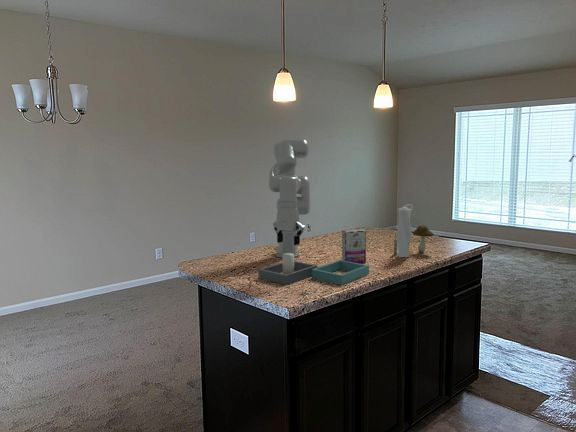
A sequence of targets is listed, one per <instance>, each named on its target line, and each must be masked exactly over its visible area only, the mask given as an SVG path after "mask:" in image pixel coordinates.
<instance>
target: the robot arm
mask: <svg viewBox="0 0 576 432" xmlns="http://www.w3.org/2000/svg"><path fill="white" fill-rule="evenodd" d="M309 146H310V145H309V143H308V141H307V140H306V139H301V138H299V139H298V138H297V139H296V138H294V139H292V138H291V139H287V138H286V139H283V140H282V141H279V142H276V143H274V145H273V153H274V157H275V161H276V162H275V163H274V164H273V165H272V166H271V168H270V170H269V173H268V176H269V177H268V187H269V190H270V192H272V193H279V198H278V199H277V200H276V210H277V213H276V220H275V221H274V222H273V223H272V226H273V228H274V229H273V230H274V231H275V234H277V235H276V242H277V244H278V245H275V247H273V250H274V251H276V252H275V256H276V257H277V258H281V259H283V254H284V253H293V254H294V259H295V258H298V257H300V252H298V251H297V246H299V245H300V244H301V243H300V242H301V241H300V240H301V239H300V238H301V237H300V236H302V234H303V232H304V230H305V225H303V224H302V223H301V222H300V216H301V215H308V214H309V213H310V210H311V193H310V192H311V188H310V187H311V186H310V180H309V177H307V176H306V175H296V166H297V159H306V158H307V157H308V154H309V152H310V151H309ZM298 195H300V196H298Z"/></svg>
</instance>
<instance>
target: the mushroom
mask: <svg viewBox="0 0 576 432" xmlns="http://www.w3.org/2000/svg"><path fill="white" fill-rule="evenodd" d="M412 235H414V236H417V237H420V241H419V245H418V246H417V247H418V248H417V250H418V252H419V253H424V252H425V251H426V238H427V237H433V236H434V233H433V232H432V231H430V230H429V228H428V227H427V226H425V225H423V224H422V225H419V226H417V228H416V229H414V231H412Z"/></svg>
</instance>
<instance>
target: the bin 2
mask: <svg viewBox="0 0 576 432" xmlns="http://www.w3.org/2000/svg"><path fill="white" fill-rule="evenodd" d="M340 270H342V271H347V272H344V273H341V274H339V273H336V271H340ZM369 274H370V265H369V264H365V263H353V262H347V261H342V259H339V260H336V261H333V262H330V263H327V264H324V265H321V266H317V268H314V269H312V276H311V279H313V280H318V281H323V282H326V283H332V284H337V285H340V286H342V285H345V284H348V283H351V282H353V281H356V280H358V279H360V278H363V277H365V276H368V275H369Z"/></svg>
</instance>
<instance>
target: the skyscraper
mask: <svg viewBox="0 0 576 432" xmlns="http://www.w3.org/2000/svg"><path fill="white" fill-rule="evenodd" d="M407 206H411V208H409V207H407ZM413 208H414V204H411V203H408V204H405V205H404V206H402V207H398V208H397V212H398V213H397V214H398V223H397V227H396V228H397V229H396V234H395V235H394V236H395V237H394V245H393V254H392V255H393V256H394V257H395V258H396V257H397V258H400V259H401V257H402V258H403V257H410V258H411V256H410V254H409V251H410V245H411V241H412V224H411V219H410V218H411V216H412V212H413ZM403 259H404V258H403Z"/></svg>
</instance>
